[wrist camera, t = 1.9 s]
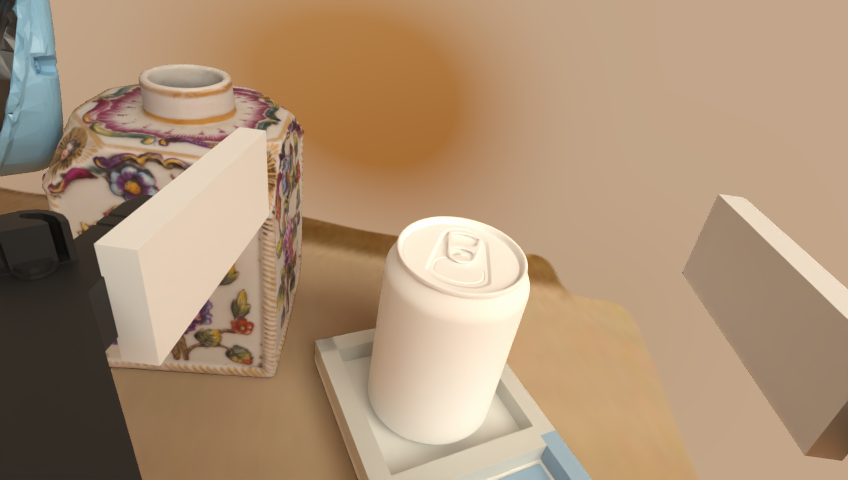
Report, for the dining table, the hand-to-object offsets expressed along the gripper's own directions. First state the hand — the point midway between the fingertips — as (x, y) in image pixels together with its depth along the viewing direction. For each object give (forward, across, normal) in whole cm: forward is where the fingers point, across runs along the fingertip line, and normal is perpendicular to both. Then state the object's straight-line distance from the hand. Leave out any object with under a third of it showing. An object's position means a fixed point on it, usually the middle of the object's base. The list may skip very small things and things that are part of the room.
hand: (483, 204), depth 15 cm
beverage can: (+10, 0, -20) cm, 22 cm away
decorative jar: (+15, -16, -20) cm, 30 cm away
